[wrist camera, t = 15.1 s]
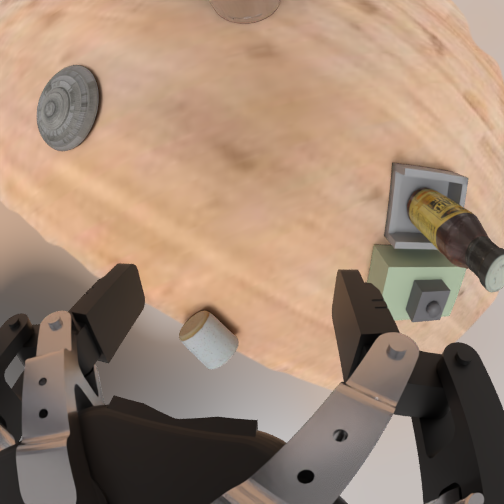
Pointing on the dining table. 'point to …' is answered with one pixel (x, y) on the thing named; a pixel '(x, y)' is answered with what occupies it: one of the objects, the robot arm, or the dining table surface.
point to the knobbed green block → (416, 250)
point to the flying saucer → (68, 108)
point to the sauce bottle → (457, 236)
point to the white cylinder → (208, 339)
